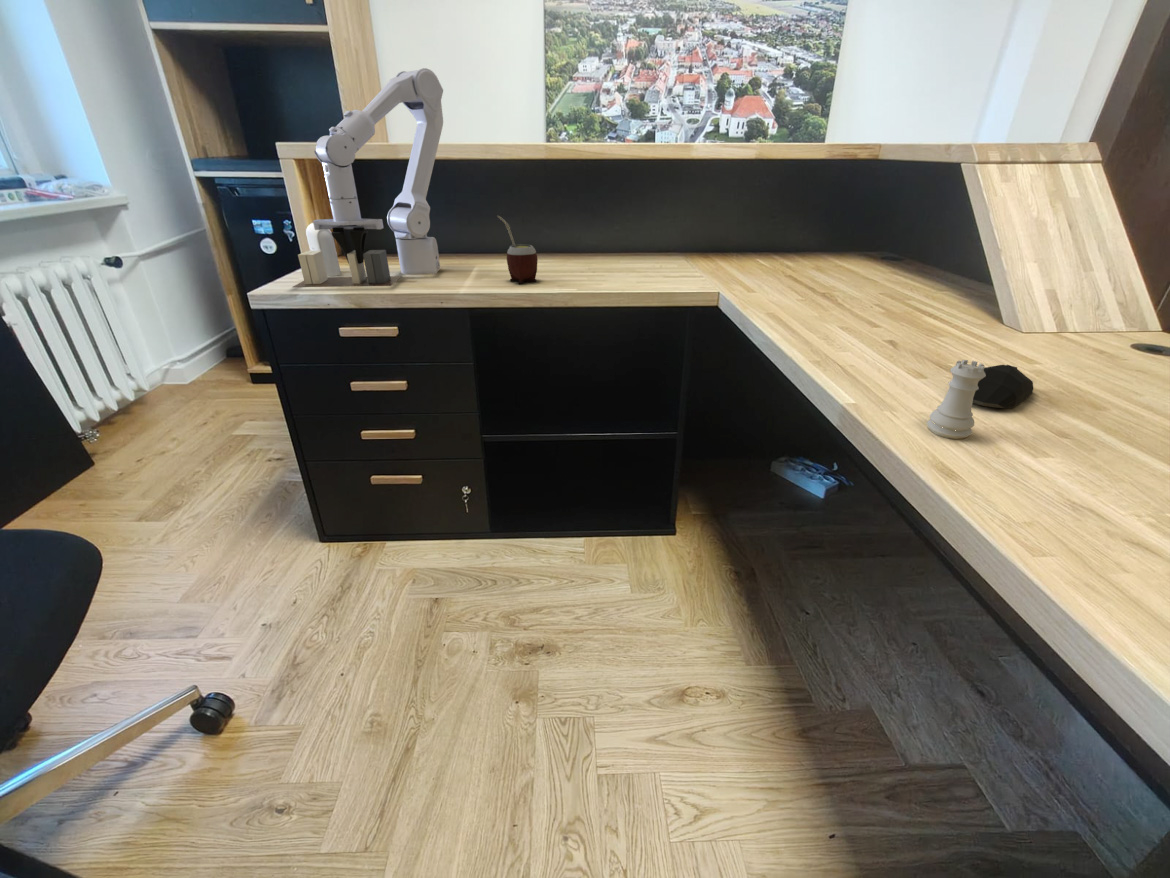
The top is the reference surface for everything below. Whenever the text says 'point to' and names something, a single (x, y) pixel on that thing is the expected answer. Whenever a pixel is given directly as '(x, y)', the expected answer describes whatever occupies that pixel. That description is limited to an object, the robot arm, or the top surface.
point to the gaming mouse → (1002, 387)
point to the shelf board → (348, 282)
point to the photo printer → (324, 248)
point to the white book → (356, 268)
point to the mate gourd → (521, 260)
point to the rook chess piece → (957, 402)
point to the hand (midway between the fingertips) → (355, 262)
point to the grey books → (376, 266)
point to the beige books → (313, 267)
